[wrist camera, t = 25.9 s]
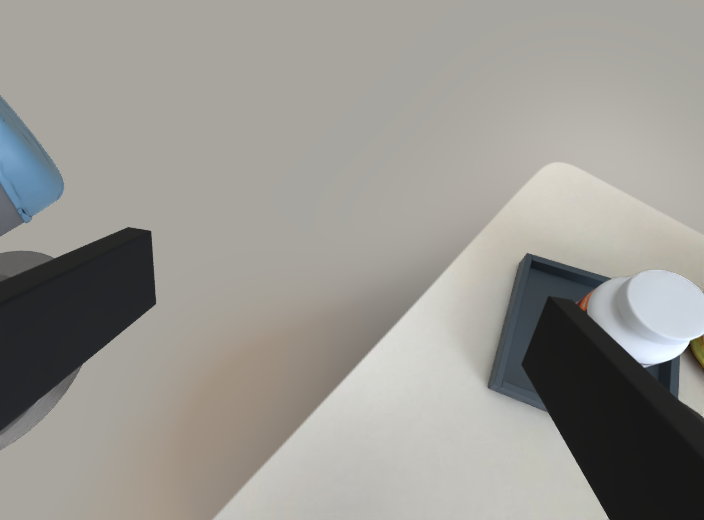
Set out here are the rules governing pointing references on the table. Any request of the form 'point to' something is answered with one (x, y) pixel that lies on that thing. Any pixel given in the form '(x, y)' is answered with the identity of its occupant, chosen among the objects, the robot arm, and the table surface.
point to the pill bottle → (648, 313)
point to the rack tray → (523, 315)
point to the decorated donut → (698, 348)
